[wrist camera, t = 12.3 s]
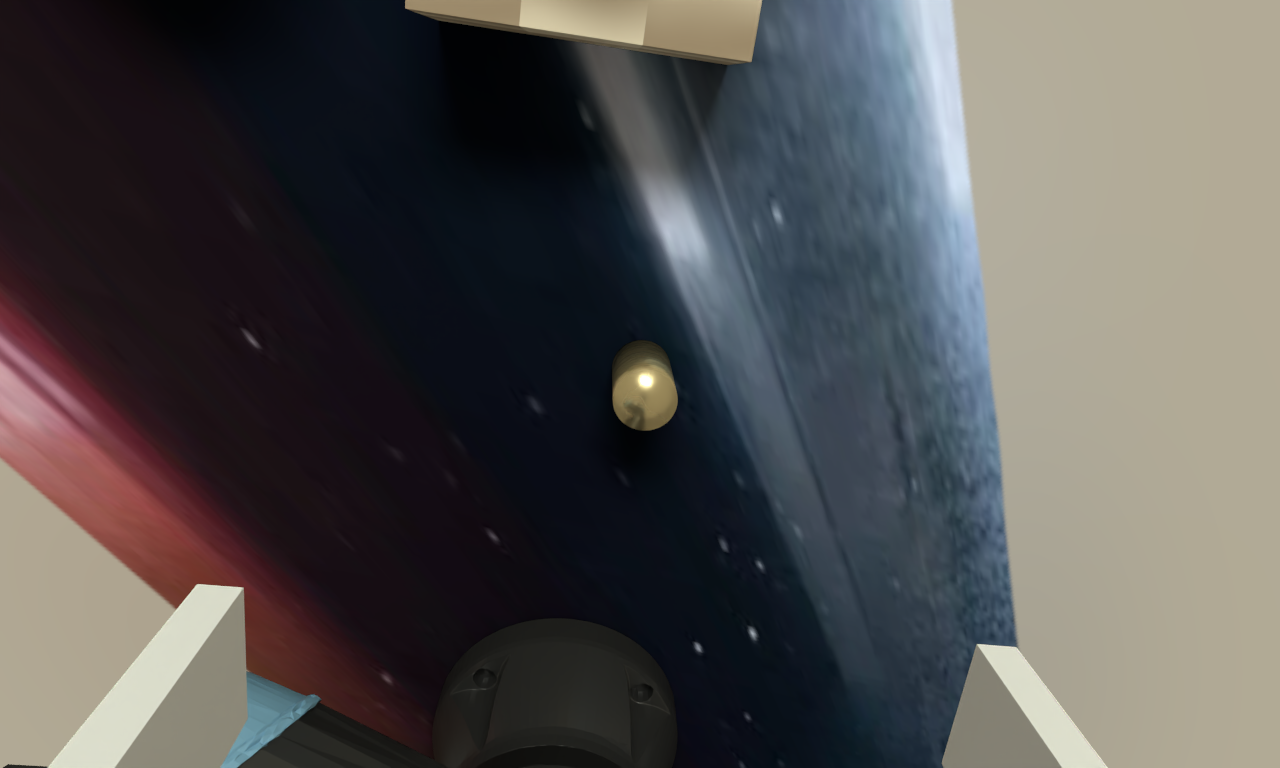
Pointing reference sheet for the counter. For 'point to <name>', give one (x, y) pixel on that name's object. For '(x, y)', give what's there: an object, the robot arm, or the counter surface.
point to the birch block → (618, 23)
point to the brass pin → (643, 386)
